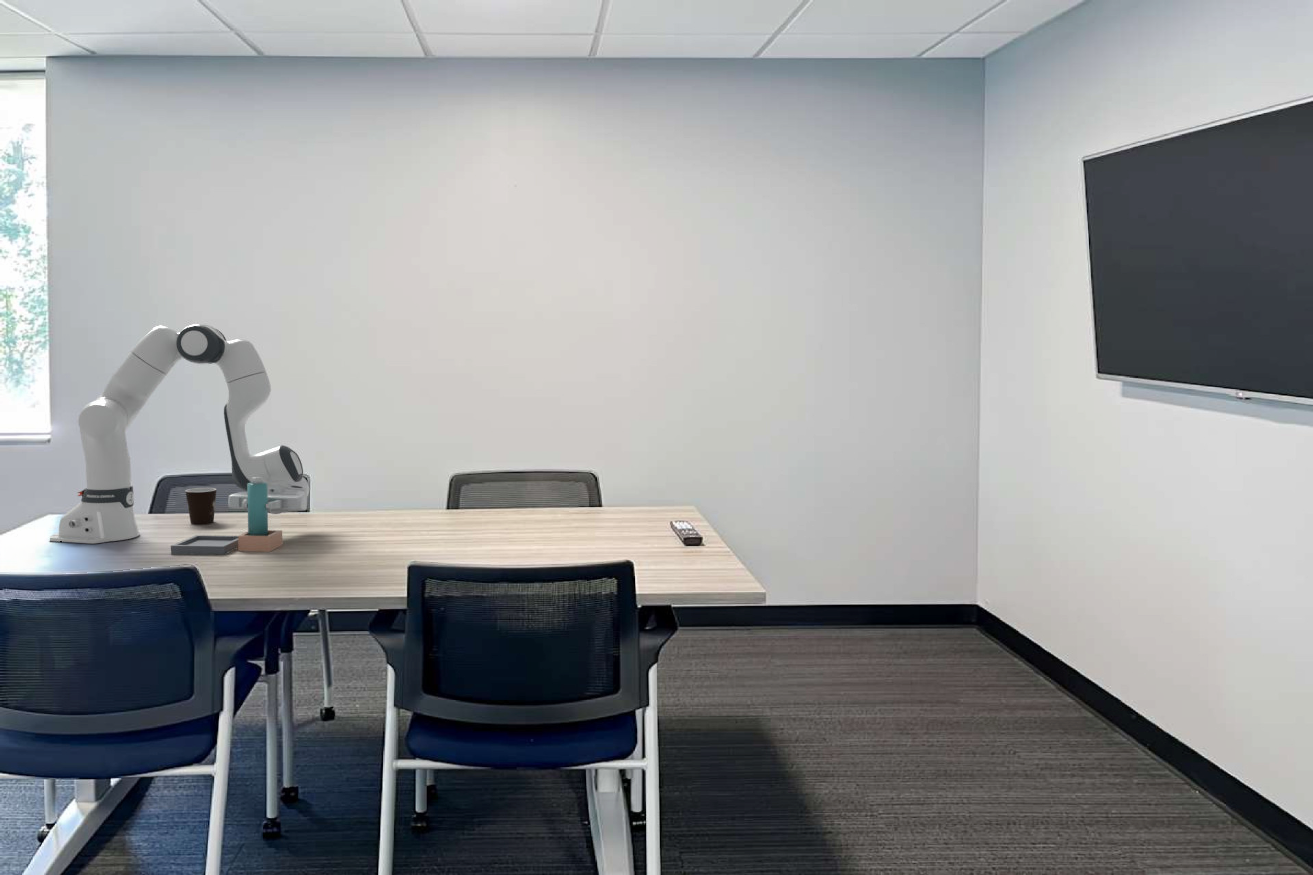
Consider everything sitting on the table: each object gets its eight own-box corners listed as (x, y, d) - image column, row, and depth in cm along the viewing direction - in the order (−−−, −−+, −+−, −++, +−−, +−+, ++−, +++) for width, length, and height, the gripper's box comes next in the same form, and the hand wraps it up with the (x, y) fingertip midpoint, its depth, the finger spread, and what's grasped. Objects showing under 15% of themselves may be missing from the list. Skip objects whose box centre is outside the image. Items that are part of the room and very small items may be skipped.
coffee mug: (206, 525, 314) (205, 492, 313) (180, 524, 316) (179, 491, 315) (229, 518, 326) (228, 486, 325) (204, 517, 327) (203, 485, 326)
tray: (171, 553, 276) (170, 545, 275) (196, 542, 290) (196, 535, 289) (223, 554, 275) (223, 546, 275) (246, 543, 289) (246, 535, 289)
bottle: (244, 536, 281) (244, 478, 279) (252, 533, 286) (251, 476, 284) (263, 537, 281) (262, 479, 279) (271, 533, 286) (270, 476, 284)
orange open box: (238, 550, 280) (237, 536, 279) (251, 544, 288) (251, 529, 288) (270, 551, 280) (269, 536, 279) (282, 544, 288) (282, 530, 288)
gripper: (240, 485, 296) (217, 493, 282) (312, 487, 295) (293, 495, 281) (240, 507, 296) (218, 516, 282) (312, 509, 295) (293, 518, 282)
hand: (256, 505), depth 282 cm, fingers closed on bottle, 5 cm apart
